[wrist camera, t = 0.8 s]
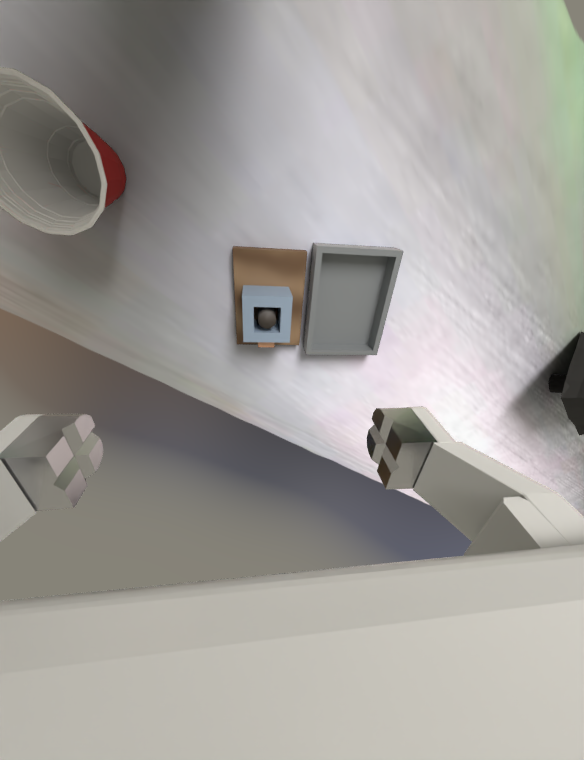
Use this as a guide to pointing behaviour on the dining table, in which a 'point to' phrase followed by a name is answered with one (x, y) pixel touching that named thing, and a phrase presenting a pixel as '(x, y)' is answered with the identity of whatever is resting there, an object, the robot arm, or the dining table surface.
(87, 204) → the plastic cup
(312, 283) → the tray
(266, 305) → the collar
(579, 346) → the decorative tree
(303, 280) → the board
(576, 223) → the dining table surface
